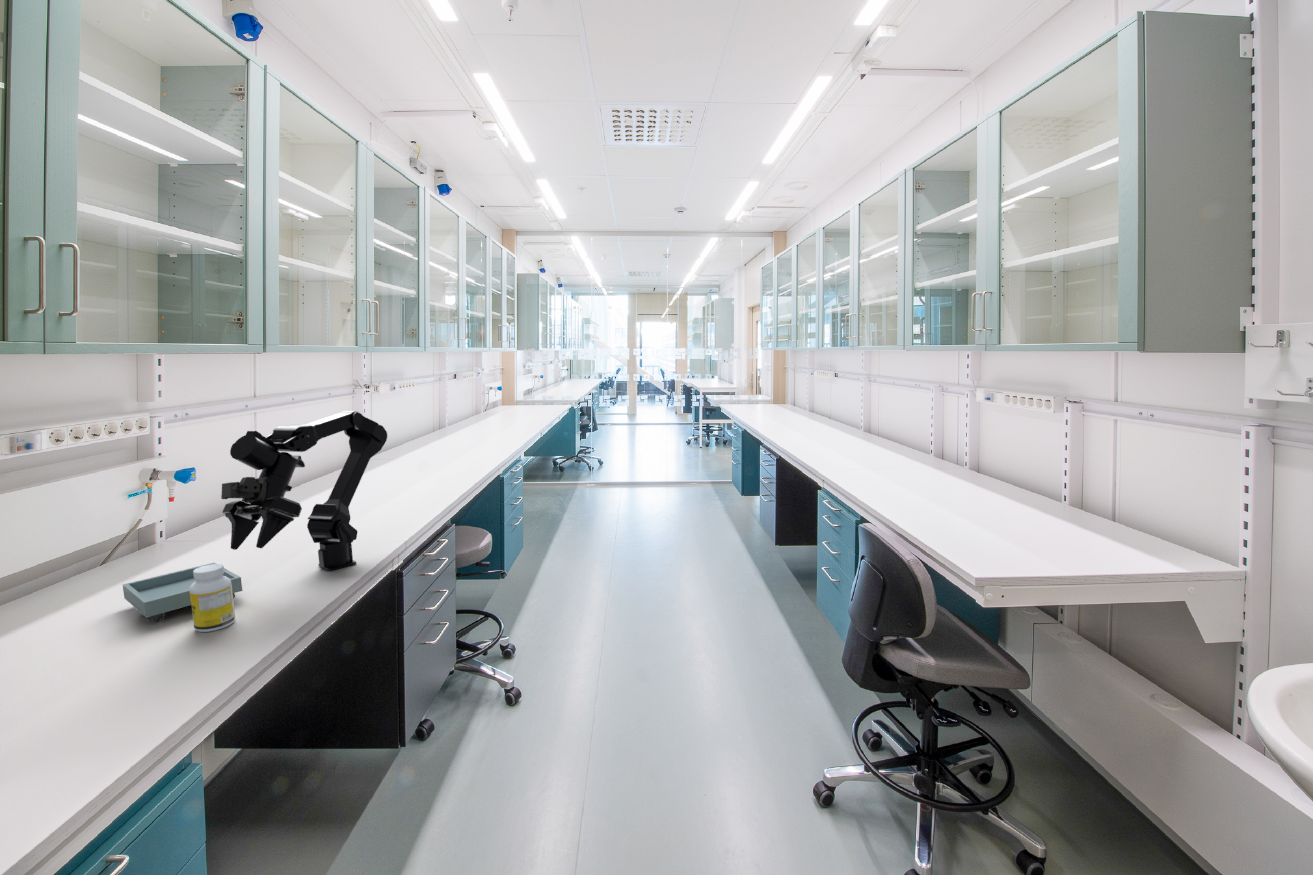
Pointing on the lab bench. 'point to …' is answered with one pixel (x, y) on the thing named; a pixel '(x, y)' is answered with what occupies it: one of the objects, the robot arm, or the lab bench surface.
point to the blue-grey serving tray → (167, 592)
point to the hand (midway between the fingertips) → (246, 548)
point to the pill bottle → (211, 599)
